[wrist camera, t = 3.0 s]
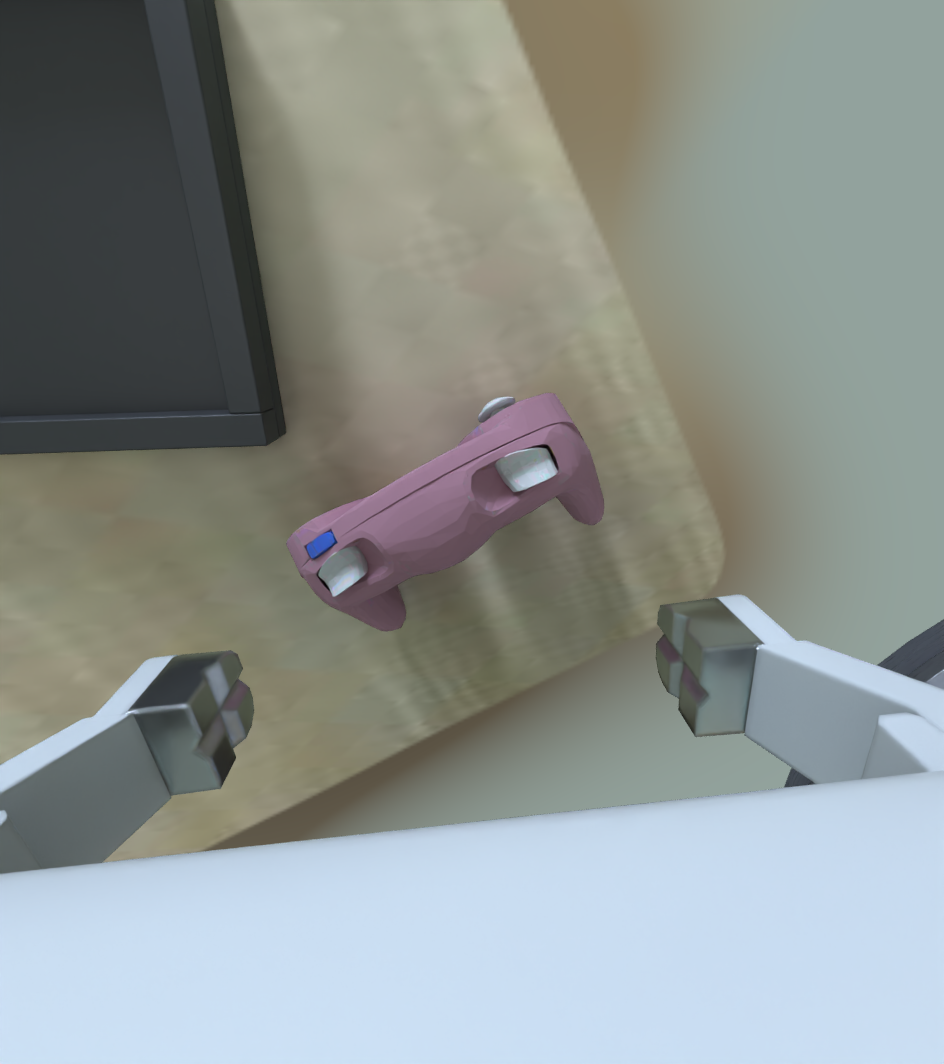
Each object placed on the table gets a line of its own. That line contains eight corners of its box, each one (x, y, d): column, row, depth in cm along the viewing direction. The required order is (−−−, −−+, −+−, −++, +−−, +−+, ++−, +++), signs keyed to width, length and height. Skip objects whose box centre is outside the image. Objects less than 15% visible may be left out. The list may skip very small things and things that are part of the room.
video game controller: (554, 410, 19) (547, 334, 12) (613, 515, 18) (642, 498, 11) (341, 533, 20) (227, 528, 13) (391, 632, 20) (298, 680, 13)
